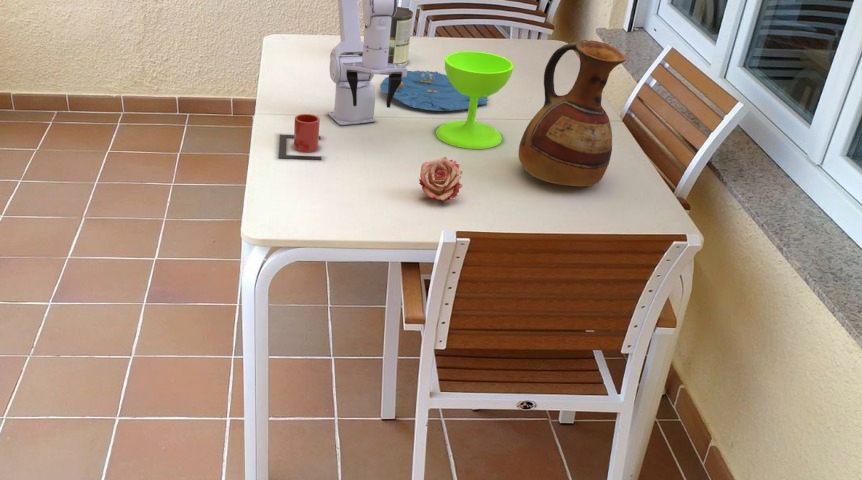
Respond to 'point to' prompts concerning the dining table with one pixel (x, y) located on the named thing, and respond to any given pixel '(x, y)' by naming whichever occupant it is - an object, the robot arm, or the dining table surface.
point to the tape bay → (283, 155)
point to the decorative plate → (429, 92)
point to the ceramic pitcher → (572, 121)
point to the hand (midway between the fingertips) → (371, 105)
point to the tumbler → (306, 133)
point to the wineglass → (474, 96)
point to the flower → (440, 179)
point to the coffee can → (400, 36)
